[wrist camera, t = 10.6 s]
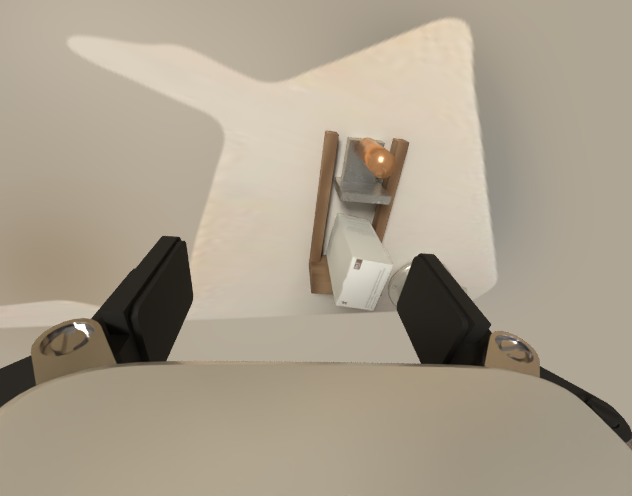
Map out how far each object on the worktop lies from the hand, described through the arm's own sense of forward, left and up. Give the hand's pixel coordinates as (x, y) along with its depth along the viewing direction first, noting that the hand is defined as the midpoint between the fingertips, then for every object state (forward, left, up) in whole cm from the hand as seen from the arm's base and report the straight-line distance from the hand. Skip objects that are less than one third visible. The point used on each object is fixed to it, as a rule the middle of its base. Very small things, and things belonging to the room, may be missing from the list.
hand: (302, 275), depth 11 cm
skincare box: (-10, +16, -33) cm, 38 cm away
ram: (-10, +3, -33) cm, 35 cm away
